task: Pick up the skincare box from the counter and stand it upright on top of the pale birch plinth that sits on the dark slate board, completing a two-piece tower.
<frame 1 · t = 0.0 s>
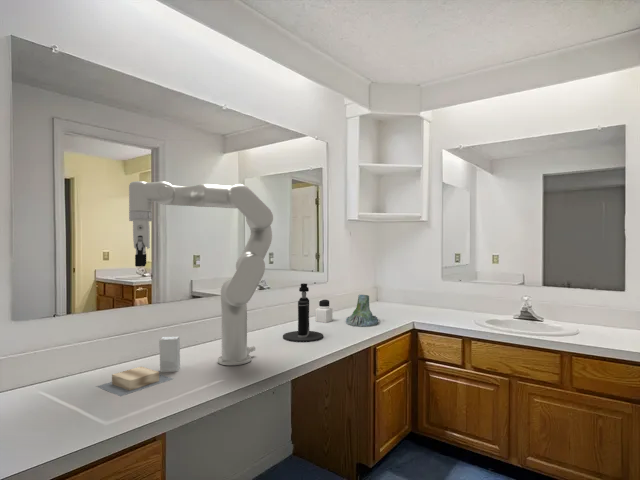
hand: (141, 265, 145), 37 cm above the counter, tool pointing down, fingers open, 9 cm apart
skincare box: (169, 372, 144), on the counter
medicine bottle: (324, 321, 233), on the counter
vape: (303, 337, 195), on the counter
birch plinth: (135, 382, 132), point 1 cm above the counter, touching slate board
tree stump: (362, 323, 228), on the counter
slate board: (135, 385, 132), on the counter
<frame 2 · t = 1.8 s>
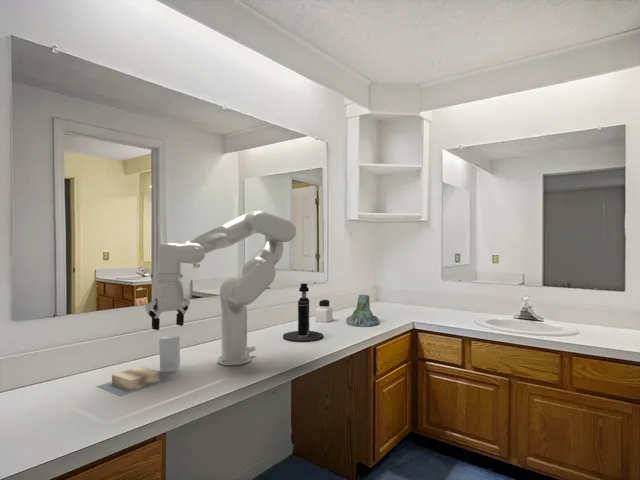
hand: (168, 327, 144), 16 cm above the counter, tool pointing down, fingers open, 9 cm apart
nothing on the counter moved.
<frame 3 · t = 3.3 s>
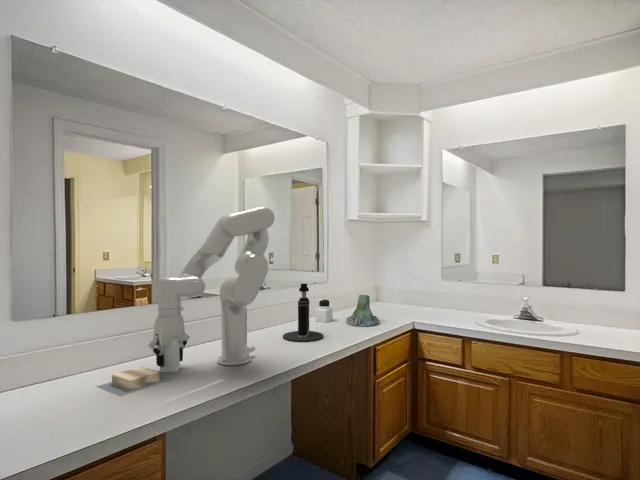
hand: (169, 362, 144), 3 cm above the counter, tool pointing down, fingers closed on skincare box, 6 cm apart
skincare box: (169, 372, 144), on the counter, touching gripper
everything else where it was.
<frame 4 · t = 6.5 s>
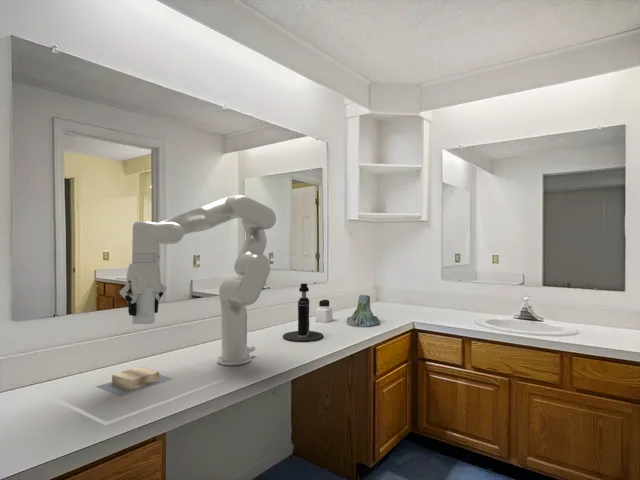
hand: (143, 313, 134), 22 cm above the counter, tool pointing down, fingers closed on skincare box, 6 cm apart
skincare box: (143, 324, 134), point 19 cm above the counter, touching gripper
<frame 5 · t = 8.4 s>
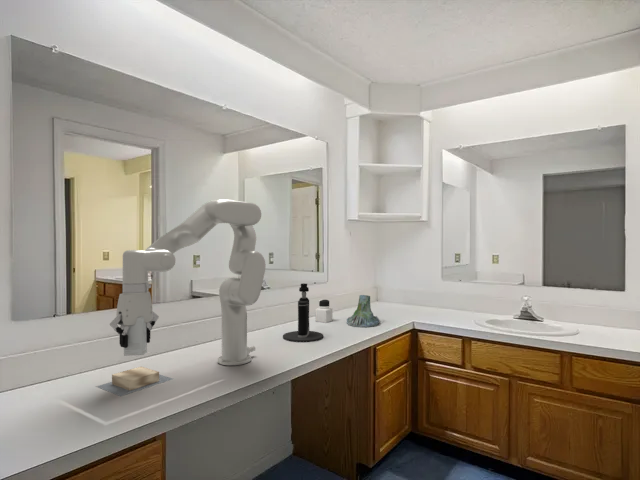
hand: (135, 344, 131), 13 cm above the counter, tool pointing down, fingers closed on skincare box, 6 cm apart
skincare box: (135, 354, 131), point 10 cm above the counter, touching gripper
when the fingers open (8 cm above the counter, at t = 9.9 s): skincare box drops 1 cm, resting on birch plinth.
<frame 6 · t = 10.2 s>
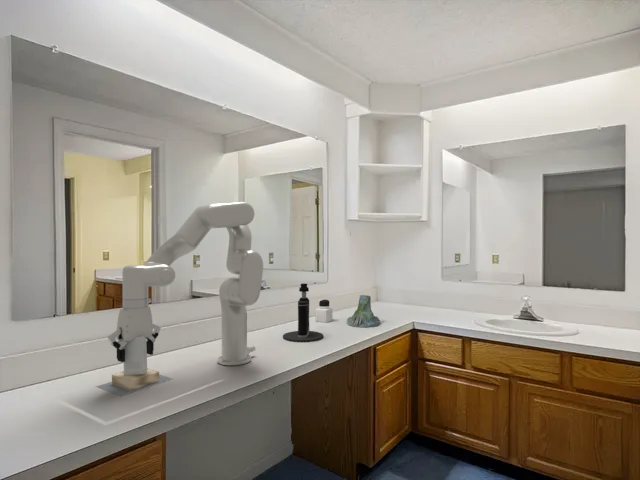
hand: (135, 357, 132), 9 cm above the counter, tool pointing down, fingers open, 9 cm apart
skincare box: (135, 373, 131), point 4 cm above the counter, touching birch plinth
birch plinth: (135, 382, 132), point 1 cm above the counter, touching skincare box, slate board
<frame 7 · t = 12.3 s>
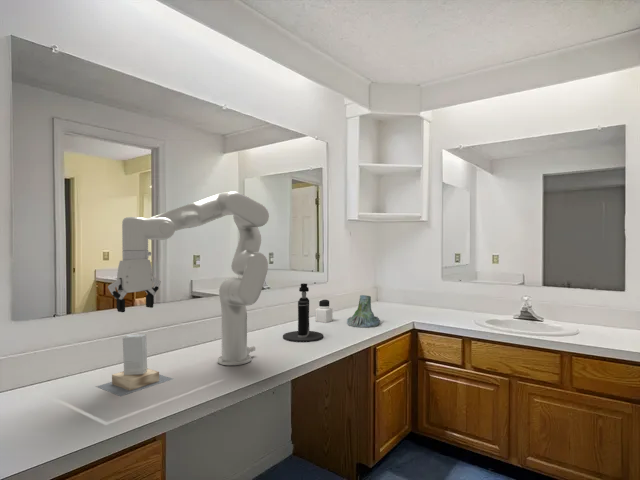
hand: (135, 309, 132), 24 cm above the counter, tool pointing down, fingers open, 9 cm apart
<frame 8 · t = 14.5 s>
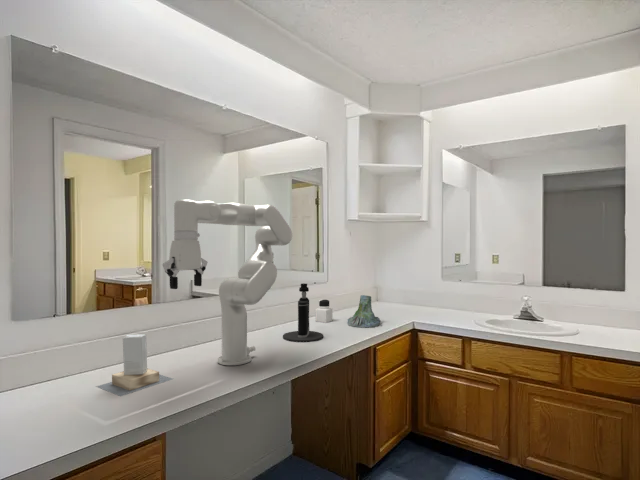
hand: (186, 287, 139), 30 cm above the counter, tool pointing down, fingers open, 9 cm apart
at the end: skincare box 0.2 cm off-centre on the birch plinth, point 2.8 cm above the birch plinth's base; skincare box tilted 0°; birch plinth inside the target area on the slate board (0.0 cm from its centre), point 0.8 cm above the slate board's base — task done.
